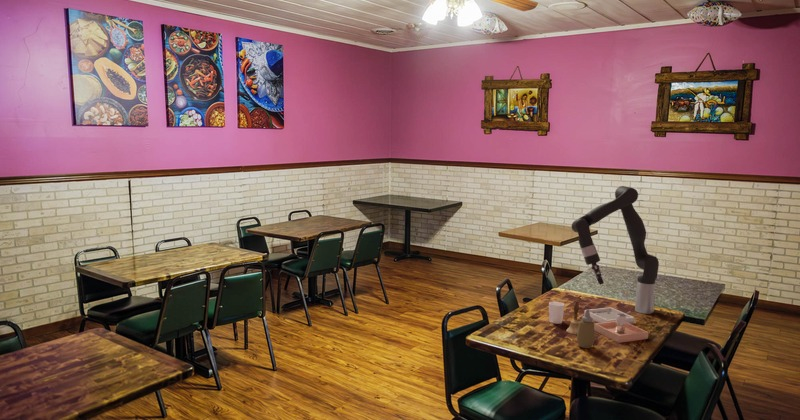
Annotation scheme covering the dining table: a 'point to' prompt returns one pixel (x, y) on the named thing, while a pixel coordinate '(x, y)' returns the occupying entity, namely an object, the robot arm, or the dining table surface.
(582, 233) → the robot arm
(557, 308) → the white cup
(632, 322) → the bin
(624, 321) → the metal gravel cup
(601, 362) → the dining table surface
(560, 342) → the dining table surface
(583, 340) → the squeeze bottle
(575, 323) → the hand bell
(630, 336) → the terracotta bin
